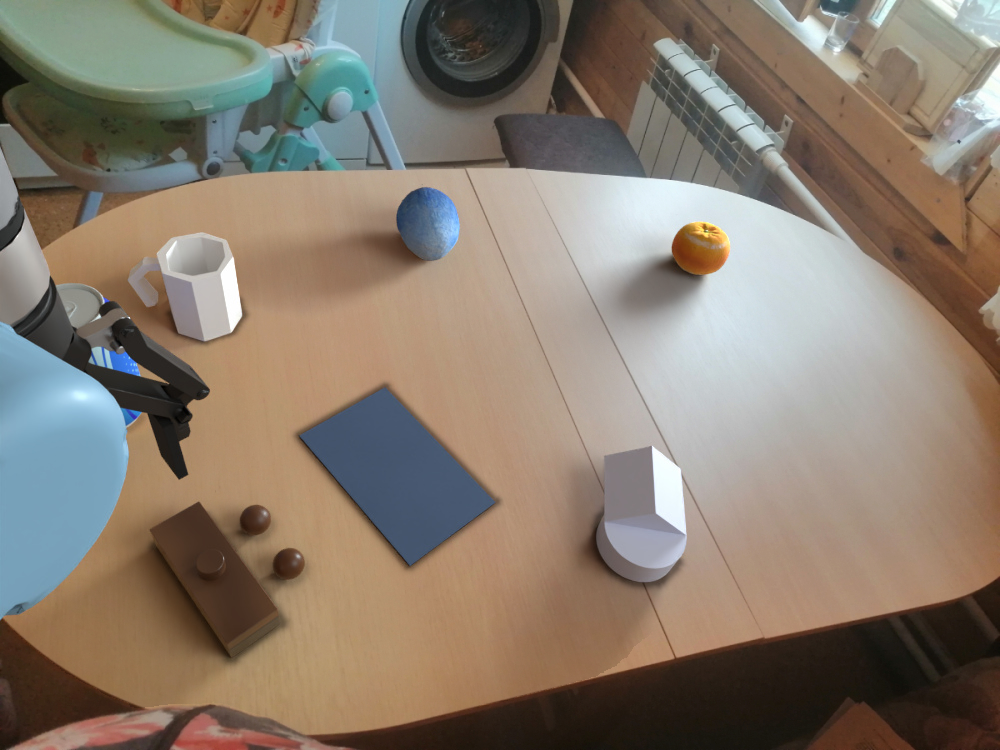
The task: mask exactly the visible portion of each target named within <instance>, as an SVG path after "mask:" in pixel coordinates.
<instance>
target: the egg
mask: <svg viewBox="0 0 1000 750" xmlns="http://www.w3.org/2000/svg"><path fill="white" fill-rule="evenodd" d="M395 221H396V229H397V231H398V233H399V235H400V237H401V239H402V241H403V242H404V244H405V246H406V247H407V249H408V250H409V251H410V252H411V253H412V254H414V255H415V256H417V257H418V258H419V259H422V260H424V261H427V262H428V261H430V262H433V261H435V262H436V261H438V260H440V259H443V257H445V256H447V255H448V254H449V253H450V251H452V249H454V247H455V245H456V244H457V242H458V240H459V236H460V230H461V229H460V227H461V225H460V218H459V214H458V209H457V207H456V205H455V203H454V202H453V200H452V199H451V198H450V196H449V195H447V194H446V193H444V192H443V191H441V190H439V189H436V188H433V187H429V186H423V184H421V187H418V188H416V189H414V190H411V191H410V192H409V193H407V194H406V195H405V196H404V198H403V199H402V200H401V203H399V206H397V210H396V216H395Z"/></svg>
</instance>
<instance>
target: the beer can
mask: <svg viewBox="0 0 1000 750" xmlns="http://www.w3.org/2000/svg"><path fill="white" fill-rule="evenodd" d="M55 285H56V288H57V290H58V293H59V295H60V298H61V300H62V303H63V305H64V308H65V310H66V313H67V315H68V318H69V320H70V323H71V325H72V326H73V327H75V328H77V329H78V328H80V327H82V326H84V325H86V324H88V323H90V322H92V321H94V320H96V319H99V318H101V316H100V314H99V309H100V307H101V306H102V305H103V304H104V303H106V302H109V301H110V299H108V298H106V297H104V296H103V295H102V294H101V292H99V290H97V289H96V288H94V287H93V286H90V285H88V284H84V283H78V282H77V283H76V282H66V283H60V284H55ZM89 363H91V364H95V365H98V366H102V367H106V368H110V369H114V370H118V371H122V372H125V373H129V374H133V375H137V376H141V377H142V375H141V372H140V369H139V366H138V364H137V363H136V362H135V361H133V360H132V359H131V358H130V357H129V356H128V354H127V353H126V352H124V353H123V354H116V353H115V351H108V350H106V349H105V348H104V347H94V348H92V354H91V357H90V360H89ZM120 409H121V411H122V413H123V416H124V420H125V425H126V429H127V428H129V427H131V426H132V425H133V424H134V423H135V422H136V421H137V420H138V418H139V417H140V416H141V415H142V413H143V412H139V411H134V410H129V409H124V408H120Z"/></svg>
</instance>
